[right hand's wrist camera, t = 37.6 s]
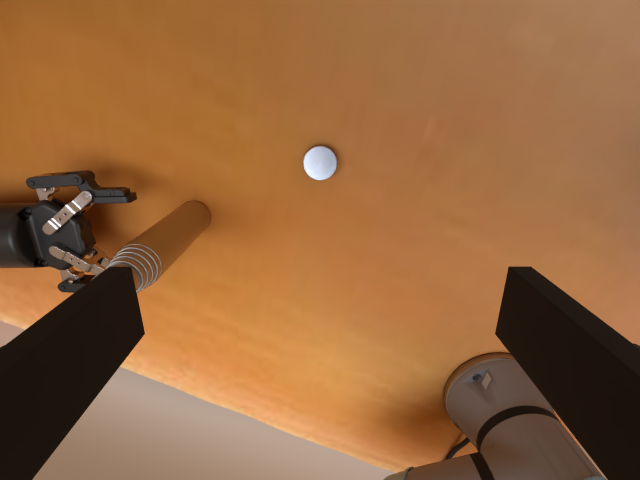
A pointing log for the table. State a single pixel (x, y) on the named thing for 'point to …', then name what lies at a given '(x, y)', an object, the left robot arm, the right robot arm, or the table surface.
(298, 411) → the table surface
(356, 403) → the table surface
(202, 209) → the bottle
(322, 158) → the cap
